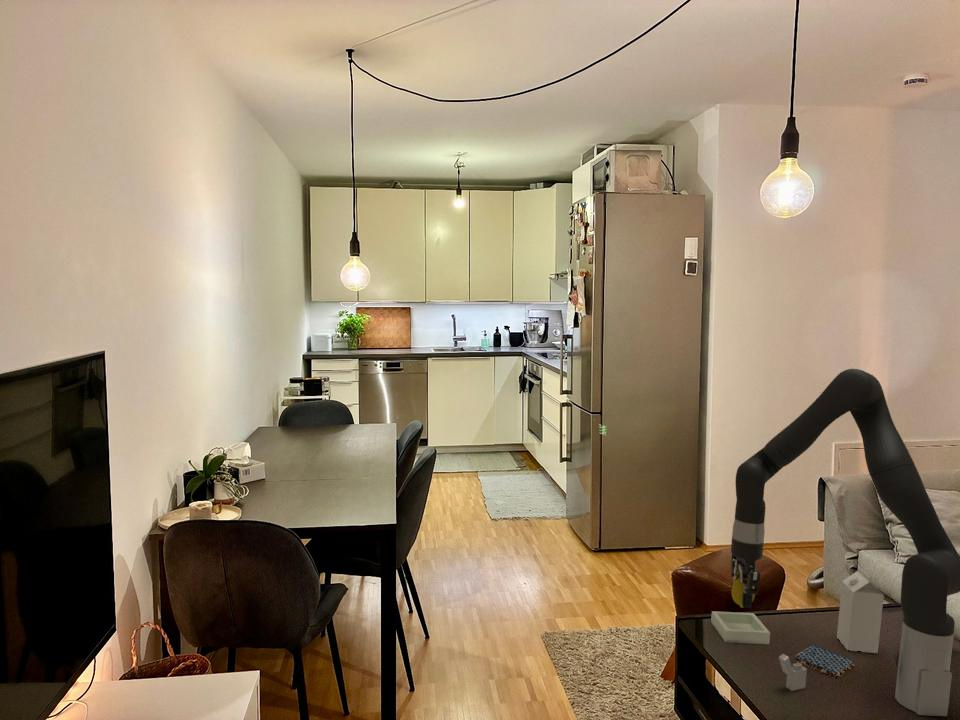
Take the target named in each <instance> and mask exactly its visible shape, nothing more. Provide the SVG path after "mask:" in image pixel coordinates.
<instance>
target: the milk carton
mask: <svg viewBox="0 0 960 720" xmlns="http://www.w3.org/2000/svg"><path fill="white" fill-rule="evenodd" d="M871 579H872V578H871V577H870V576H869V574H867V573H866V572H865V571H864V570H862V568H861V567H859V566H857V570H856V571H855V572H854V573H852V574H850V575H849V576H848V577H846V578H844V579H843V580H842V581H841V590H840V591H841V592H840V601H839V610H838V611H839V612H838V620H837V621H838V623H837V631H836V633H837V634H836V638H837V640H838V639H839V640H840V641H839V640H838V641H839V642H840V643H841V644H842V646H843V645H844V646H843V648H845V649H846V651H848V650H849V651H850V652H857V651H861V652H860V653H870V654H871V653H872V654H878V653H879V643H880V635H881V625H882V615H883V605H884V596H885V595H884V594H883V592H882V591H880V590H879V589H878V588H877V586H875V585H874V584H873V583H872V582H871Z"/></svg>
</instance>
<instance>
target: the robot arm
mask: <svg viewBox="0 0 960 720" xmlns="http://www.w3.org/2000/svg"><path fill="white" fill-rule="evenodd" d="M848 412H850V414H851V416H852V418H853V420H854V422H855V423H856V426H857V428H858V429H859V433H860V435H861V438H862V443H863V444H862V445H863V451H864V458H865V463H866V466H867V467H866V468H867V470H868V473H869V477H870V478H871V481H872V483H873V486H874V488H875V491H876V493H877V495H878V497H879V499H880V500H881V501H882V503H883V505H885V507H887V509H888V510H889V511H890V512H891V513H892V515H894V516H895V518H897V519H898V521H900V523H901V524H902V525H903V526H904V528H905V529H906V531H907V532H908V534H909V535H910V538H911V540H912V542H913V545H914V547H915V549H916V552H917V554H913V555H911V556H910V557H908V559H906V561H905V563H904V565H903V567H902V568H903V569H902V572H901V584H900V585H901V589H900V608H901V611H902V613H903V614H902V616H903V617H902V618H903V619H902V628H901V637H900V645H899V654H898V655H899V656H898V666H897V673H896V682H895V683H896V684H895V693H894V698H895V700H896V702H898V703H899V704H900V706H901V705H902V707H904V708H905V709H907V710H909V711H912V712H914V713H915V714H917V715H918V716H931V717H933V716H934V717H935V716H936V717H948V714H949V713H948V712H949V704H950V695H951V694H950V693H951V685H952V676H953V673H952V672H951V671H950V669H951V660H952V652H953V651H952V650H953V645H954V644H953V643H954V635H955V625H956V624H955V622H956V621H955V620H954V618H953V616H951V614H949V613H947V604H948V603H947V602H948V596H951V595H955V594H958V593H960V555H959V553H958V551H957V549H956V548H955V545H954V544H953V542H952V541H951V538H950V537H949V535H948V533H947V532H946V531H945V528H944V527H943V525H942V523H941V521H940V519H939V516H938V514H937V512H936V509H935V507H934V505H933V503H932V501H931V499H930V497H929V495H928V492H927V490H926V488H925V485H924V483H923V480H922V478H921V475H920V473H919V471H918V469H917V467H916V465H915V462H914V460H913V458H912V456H911V454H910V452H909V451H908V448H907V446H906V444H905V442H904V441H903V438H902V437H901V435H900V433H899V431H898V429H897V427H896V426H895V423H894V421H893V418H892V416H891V415H892V414H891V412H890V409H889V407H888V403H887V399H886V397H885V393H884V390H883V387H882V385H881V383H880V381H879V380H878V379H877V377H875V376H874V375H873V374H871V373H869V372H867V371H865V370H862V369H859V368H848V369H845V370H843V371H841V372H840V373H838V374H837V375H836V376H835V377H834V378H833V379H832V380H831V382H830V383H829V384H828V385H827V386H826V388H825V389H824V390H822V392H821V394H819V396H817V398H816V399H815V400H814V401H813V402H812V403H811V404H810V405H809V406H808V407H807V408H806V409H805V410H804V411H803V412H802V413H801V414H799V415H798V416H797V418H795V419H794V420H793V421H792V422H791V423H790V424H788V425H786V427H784V428H783V429H782V430H781V431H779V432H778V433H777V434H776V435H775V436H774V437H773V438H771V439H770V440H769V441H768V442H767V443H765V446H763V447H762V448H761V449H760V450H758V451H757V452H756V453H754V454H753V455H752V456H751V457H749V458H747V459H746V460H744V461H743V462H742V463H741V464H740V465H739V466H738V467H737V470H736V473H735V495H736V496H735V497H736V504H735V510H734V511H735V513H734V519H733V520H734V521H733V525H732V532H731V533H732V534H731V544H730V545H731V547H730V553H731V556H730V557H731V563H730V565H731V567H730V569H731V570H730V572H731V573H730V575H731V576H730V577H732V578H733V583H734V582H735V581H736V580H737V579H739V578H740V581H741V583H742V584H743V598H742V606H743V608H746V609H751V608H752V607H753V602H752V597H753V594H755V595H758V592H759V586H760V581H761V580H760V579H761V572H759V571H757V565H756V562H757V561H759V560H761V559H762V558H763V556H764V554H763V551H764V541H765V518H766V502H765V500H764V497H765V496H764V495H765V486H766V483H767V482H768V481H770V479H772V478H773V477H774V476H775V475H776V474H777V473H779V472H780V471H781V470H782V469H783V468H784V467H786V466H788V465H789V464H791V463H792V462H793V461H795V460H796V459H798V458H799V457H800V456H801V455H802V454H804V453H805V452H806V451H807V450H808V449H810V447H811V446H812V445H813V444H814V443H815V442H816V441H817V439H819V438H820V436H821V434H822V433H823V432H824V431H825V430H826V429H827V428H828V427H829V426H830V425H831V424H832V423H833V422H835V421H836V420H837V419H839V418H841V417H842V416H843V415H845V414H847V413H848ZM744 578H745V579H748V580H745V579H744ZM746 584H747V587H746ZM750 587H751V589H750Z"/></svg>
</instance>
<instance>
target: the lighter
mask: <svg viewBox="0 0 960 720" xmlns="http://www.w3.org/2000/svg"><path fill="white" fill-rule="evenodd" d="M778 660H779V663H780V666H781V670H782V672H783V673H785V674H786V684H785V688H786V689H788V690H790V691H791V692H793V691H797V690H802V689H806V683H807V672H808V668H807V667H806V666H804V665H802V664H800V663H797V662H795V663H791V661H790V657H789V656H788V655H786V654H785V653H782V654H780V655H779V656H778Z"/></svg>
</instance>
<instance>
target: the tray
mask: <svg viewBox="0 0 960 720" xmlns="http://www.w3.org/2000/svg"><path fill="white" fill-rule="evenodd" d="M710 617H711V619H710V623H711V624H712V626H713V627H714V629H715V630H716V632H717V633H718V634H719V636H720V637H721V639H722V640H723V641H724V643H732V644H734V643H735V644H751V645H752V644H754V645H755V644H756V645H770V643H771V642H770V640H771V631H770V630H769V629H768V628H767V627H766V626H765V625H764V624H763V622H762V621H761V620H760V619H759V618H758V616H757V615H756V614H755V613H754V612H753V613H751V612H731V611H712V610H711V616H710Z"/></svg>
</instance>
